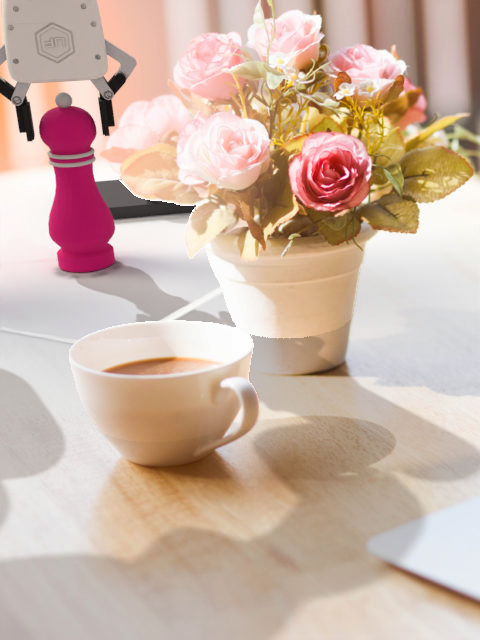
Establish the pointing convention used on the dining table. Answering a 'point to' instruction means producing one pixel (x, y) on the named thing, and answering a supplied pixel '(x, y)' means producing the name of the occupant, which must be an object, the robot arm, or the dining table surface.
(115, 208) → the scale
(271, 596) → the dining table surface
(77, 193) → the pepper mill
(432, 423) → the dining table surface
